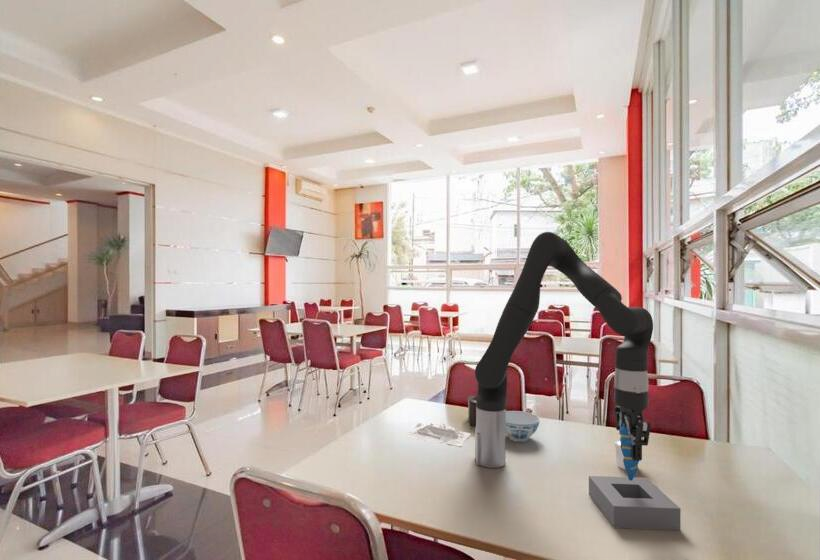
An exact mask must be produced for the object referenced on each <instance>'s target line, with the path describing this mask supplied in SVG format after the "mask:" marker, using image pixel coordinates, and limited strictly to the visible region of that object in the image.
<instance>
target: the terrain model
mask: <svg viewBox="0 0 820 560" xmlns="http://www.w3.org/2000/svg"><path fill="white" fill-rule="evenodd" d="M471 435H472V433H470V432H467V431H466V432H465V431H461V430H459V429H457V428H456V427H453V426H450V425H448V424H444V423H443V424H442V423H429V424H427V425H425V423H421V422H418V423H417V424H416V425H415V427H414V428H413V429H412V430H411V431H409V432H408V433H407V434H406V435H405V436H406V437H408V438H413V439H416V440H421V441H430V442H434V443H438V444H443V443H446V445H448V446H453V447H459V448H460V447H463V444H465V442H466V441H467V440H468V439H469V438H470V437H471Z"/></svg>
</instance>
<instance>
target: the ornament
mask: <svg viewBox="0 0 820 560" xmlns="http://www.w3.org/2000/svg"><path fill="white" fill-rule="evenodd" d="M632 431H636V430H632ZM620 432H621V435H620V438H619V440H620V442H621V444H622V454H623V456H624V458H623V462H624V466H625V469H626V470H625V469H624V470H625V471H626V475H627V477H628V478H629V480H630V481H632V480H633V478H634V477H635V476H636V475H637V473H638V470H639V466H638V464H639V462H640V461H635V460H633V459H632V458H631V444H632V443H631V436H630V435H629V434H628V430H627V426H625V425H623V426H621V427H620ZM635 438H636V435H635Z"/></svg>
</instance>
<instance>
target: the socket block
mask: <svg viewBox="0 0 820 560" xmlns="http://www.w3.org/2000/svg"><path fill="white" fill-rule="evenodd" d="M589 495H590V496H591V497H590V496H589ZM588 496H589V497H590V499H591V500H592V499H593V500H592V501H593V502H594V504H595V503H596V504H595V505H596V506H597V507H598V509H599V510H600V512H601V513H602V515H603V516H604V517H605V518H606V519H607V521H608V523H609V524H610V525H611V527H612V528H613V529H632V530H633V529H636V530H637V529H638V530H658V531H659V530H661V531H663V530H664V531H681V507H680V506H678V505H677V503H675V502H674V501H673V500H672V499H670V498H669V497H668V496H667V495H666V494H665V493H664V492H663V491H662V490H661V489H660V488H658V487H657V486H656V485H655V483H653V482H652V481H651V480H649V479H648V477H639V476H638V477H637V476H636V477H635V476H634V478H633V480H632V481H630V480H629V478H628V476H609V475H608V476H606V475H605V476H604V475H588Z"/></svg>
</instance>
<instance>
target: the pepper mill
mask: <svg viewBox="0 0 820 560" xmlns="http://www.w3.org/2000/svg"><path fill="white" fill-rule="evenodd" d="M476 398H477V394H476V395H469V396H468V397H467V400H468V401H467V407H468V411H467V412H468V413H467V414H468V418H467V419H468V424H469V426H470V427H476Z"/></svg>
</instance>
